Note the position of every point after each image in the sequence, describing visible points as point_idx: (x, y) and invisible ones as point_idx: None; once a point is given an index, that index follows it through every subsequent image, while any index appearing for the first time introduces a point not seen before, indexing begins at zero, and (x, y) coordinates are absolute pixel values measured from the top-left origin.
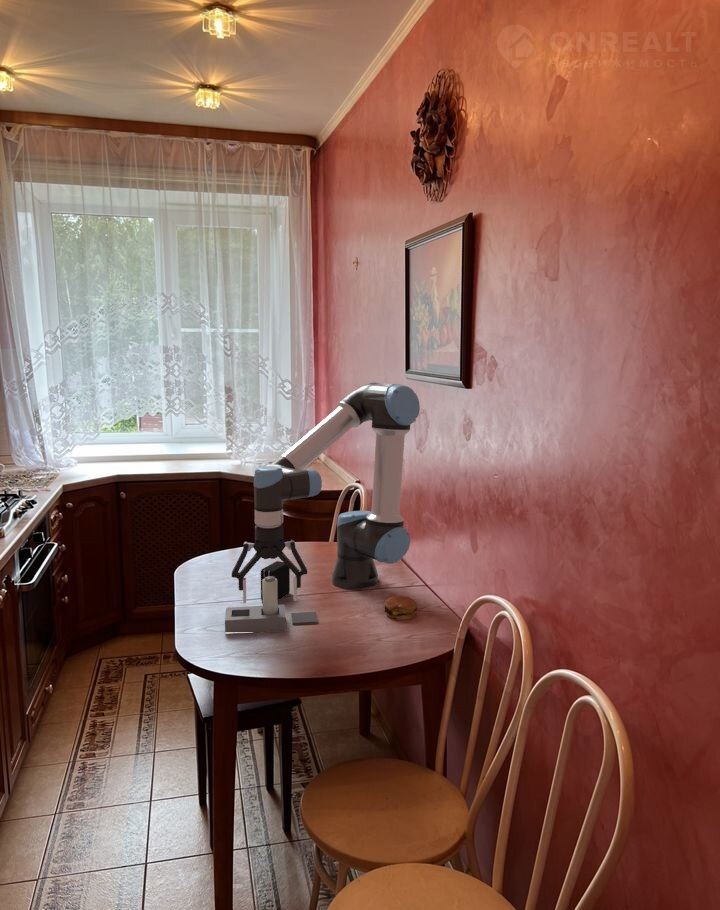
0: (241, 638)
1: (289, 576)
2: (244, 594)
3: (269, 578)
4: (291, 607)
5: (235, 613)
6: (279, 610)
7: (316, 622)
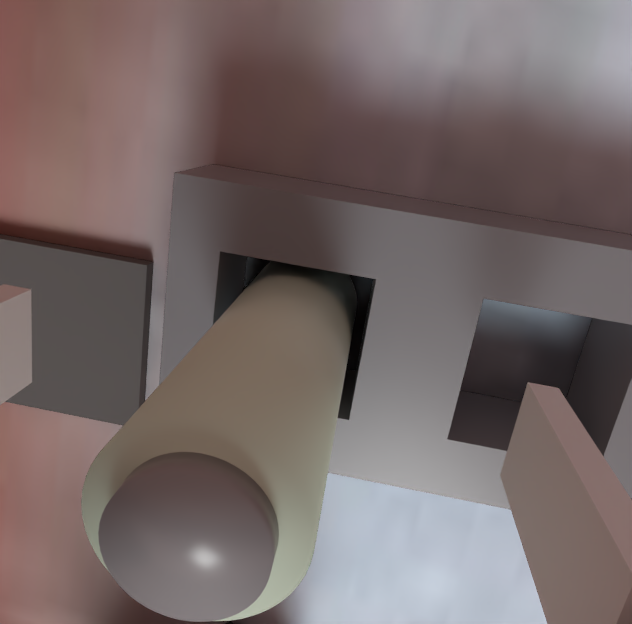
0: (564, 134)
1: None
2: (574, 436)
3: (192, 526)
4: None
5: None
6: None
7: None
